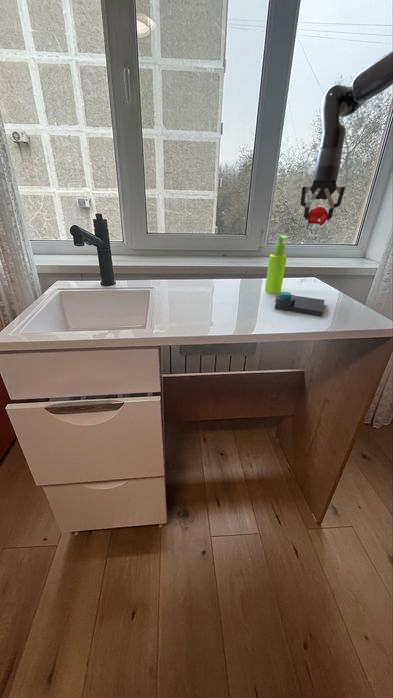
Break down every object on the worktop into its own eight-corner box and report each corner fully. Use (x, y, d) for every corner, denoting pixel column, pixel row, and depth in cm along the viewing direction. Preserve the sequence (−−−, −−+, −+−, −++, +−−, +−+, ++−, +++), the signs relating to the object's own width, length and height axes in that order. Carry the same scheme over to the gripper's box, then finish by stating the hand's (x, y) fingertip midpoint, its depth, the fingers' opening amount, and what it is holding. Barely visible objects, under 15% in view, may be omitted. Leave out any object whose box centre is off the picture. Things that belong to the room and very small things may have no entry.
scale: (323, 304, 96) (326, 294, 94) (321, 317, 86) (323, 306, 84) (279, 298, 101) (281, 288, 99) (272, 309, 91) (274, 298, 89)
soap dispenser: (268, 294, 104) (276, 236, 94) (262, 289, 110) (270, 233, 100) (283, 294, 104) (294, 236, 94) (277, 289, 110) (286, 233, 100)
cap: (303, 224, 107) (306, 206, 105) (319, 224, 108) (322, 206, 105) (311, 226, 100) (315, 207, 98) (328, 226, 101) (332, 207, 98)
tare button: (291, 298, 91) (292, 292, 91) (289, 300, 89) (290, 295, 88) (281, 296, 92) (282, 291, 92) (279, 299, 90) (280, 294, 89)
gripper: (303, 164, 95) (295, 219, 103) (351, 163, 90) (338, 221, 97) (306, 166, 101) (297, 218, 109) (351, 165, 96) (338, 220, 103)
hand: (317, 219), depth 103 cm, fingers closed on cap, 7 cm apart
